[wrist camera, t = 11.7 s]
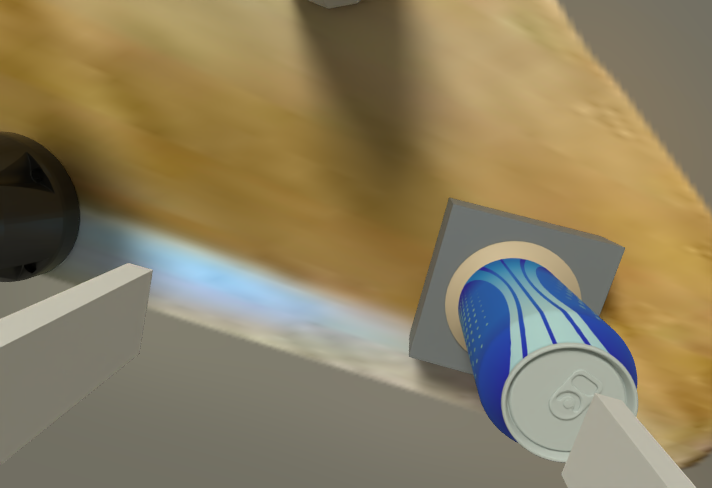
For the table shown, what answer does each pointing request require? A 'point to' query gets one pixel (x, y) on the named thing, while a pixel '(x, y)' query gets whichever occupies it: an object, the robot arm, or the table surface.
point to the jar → (334, 3)
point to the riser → (494, 242)
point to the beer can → (540, 355)
